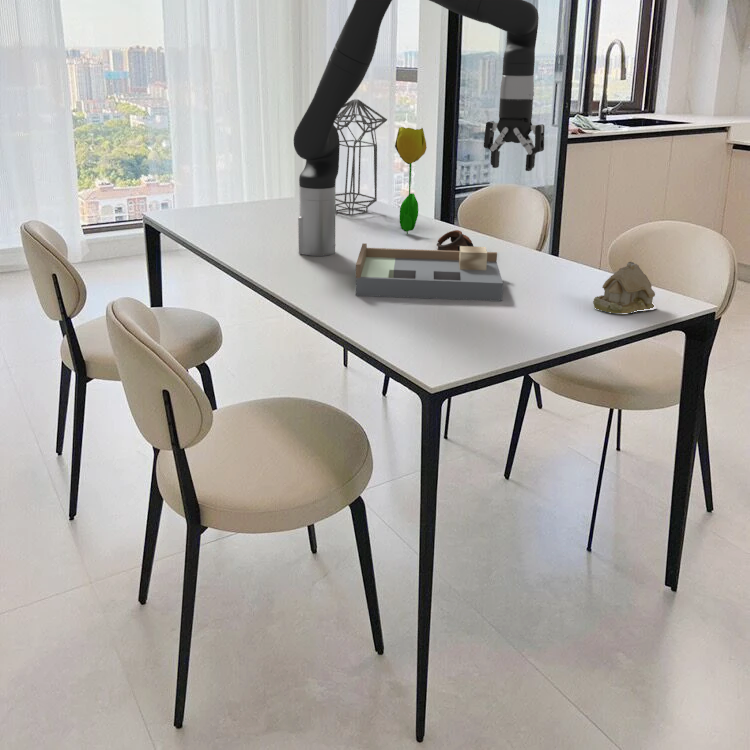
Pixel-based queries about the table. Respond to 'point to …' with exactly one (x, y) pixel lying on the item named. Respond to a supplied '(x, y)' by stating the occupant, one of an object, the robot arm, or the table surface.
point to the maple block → (472, 258)
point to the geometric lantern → (342, 114)
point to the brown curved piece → (454, 241)
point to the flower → (410, 150)
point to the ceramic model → (626, 291)
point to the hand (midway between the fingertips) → (512, 169)
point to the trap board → (425, 275)
